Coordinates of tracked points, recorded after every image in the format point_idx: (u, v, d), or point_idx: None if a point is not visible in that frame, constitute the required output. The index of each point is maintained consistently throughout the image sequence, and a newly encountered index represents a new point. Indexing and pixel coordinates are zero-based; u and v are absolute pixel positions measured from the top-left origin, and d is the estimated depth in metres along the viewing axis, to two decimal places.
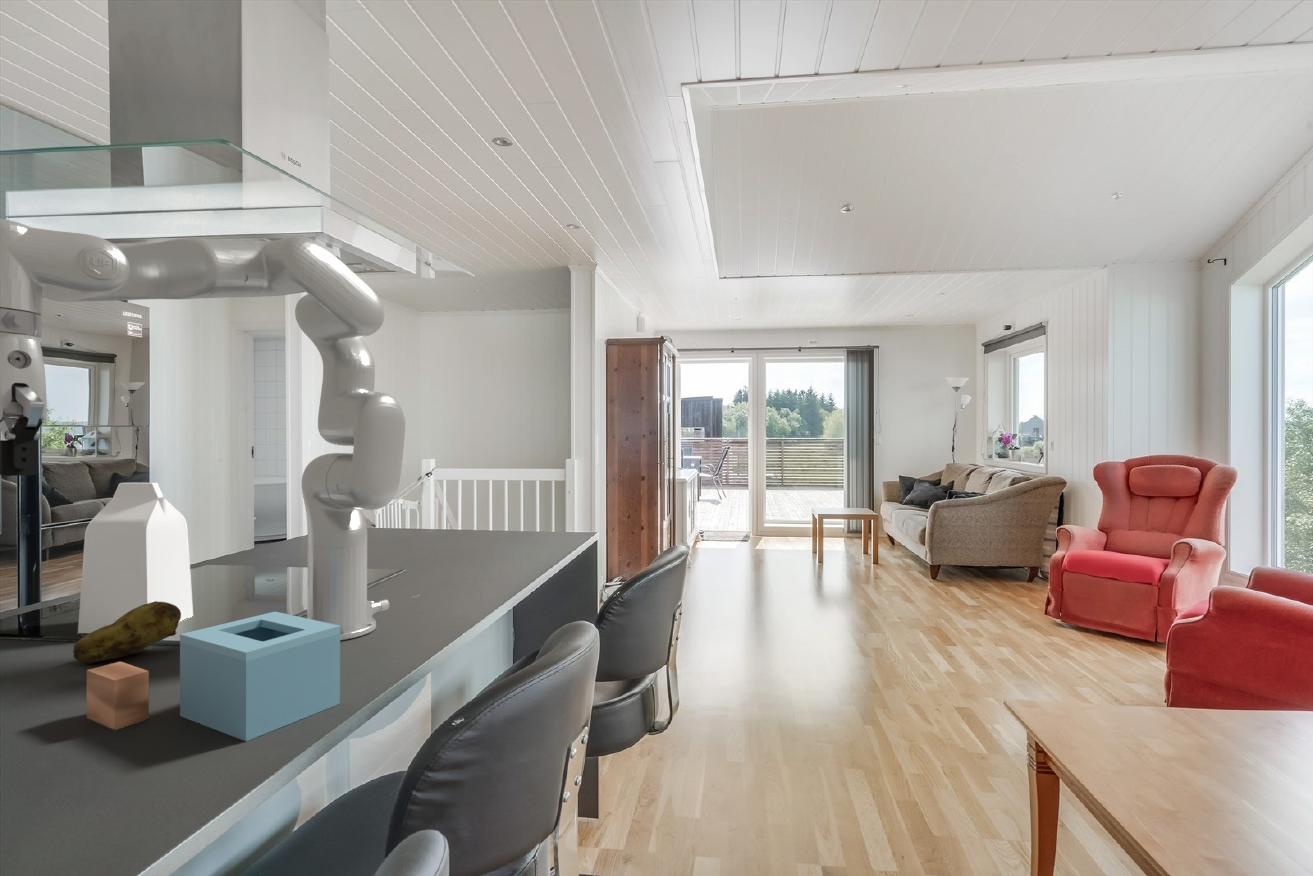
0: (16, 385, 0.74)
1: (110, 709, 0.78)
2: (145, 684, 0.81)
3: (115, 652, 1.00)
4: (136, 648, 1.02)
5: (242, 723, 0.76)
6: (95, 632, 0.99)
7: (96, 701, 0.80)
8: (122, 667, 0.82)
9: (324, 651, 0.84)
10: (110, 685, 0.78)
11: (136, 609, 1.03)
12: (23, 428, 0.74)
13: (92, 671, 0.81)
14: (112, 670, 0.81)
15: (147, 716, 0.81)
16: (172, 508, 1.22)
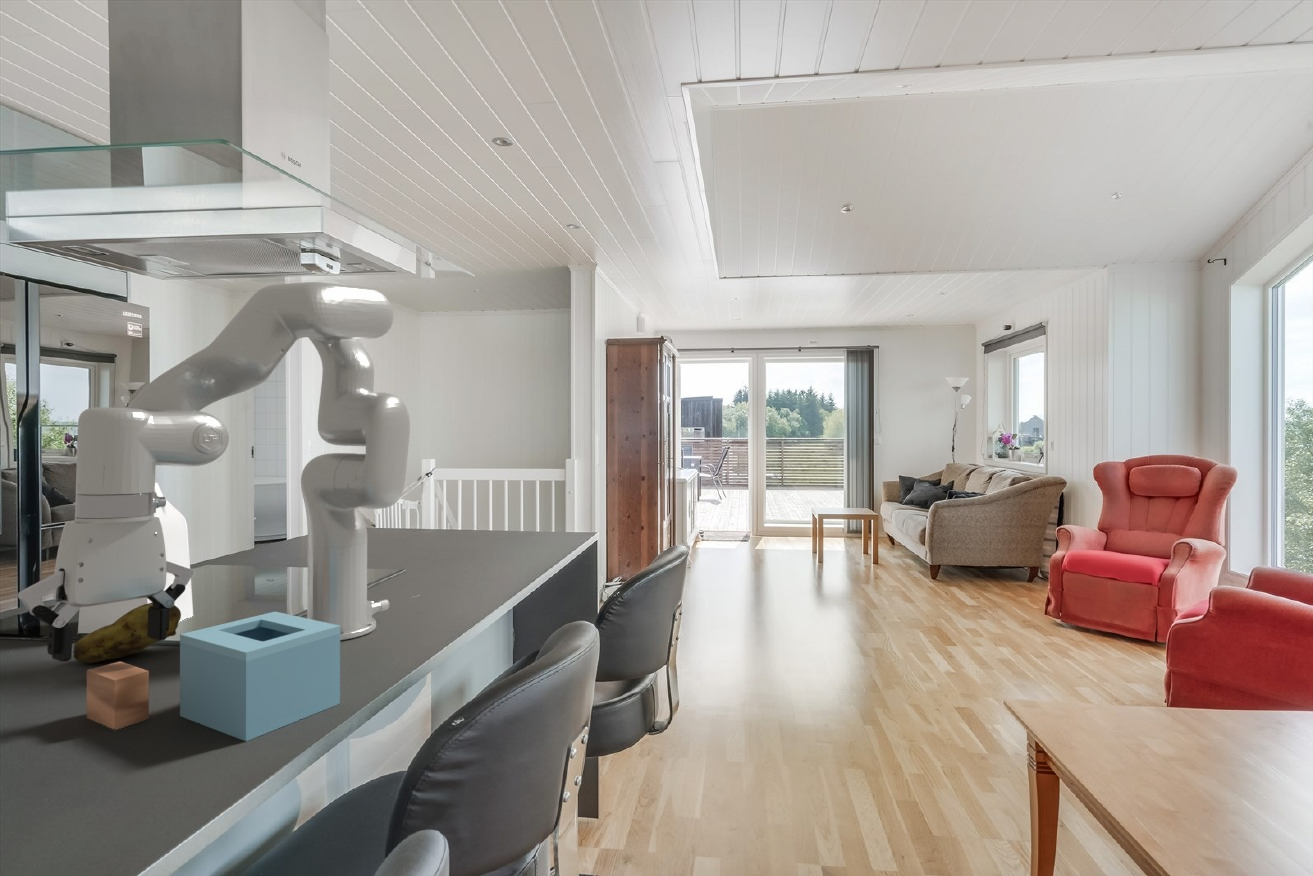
0: None
1: (110, 709, 0.78)
2: (145, 684, 0.81)
3: (115, 652, 1.00)
4: (136, 648, 1.02)
5: (242, 723, 0.76)
6: (95, 632, 0.99)
7: (96, 701, 0.80)
8: (122, 667, 0.82)
9: (324, 651, 0.84)
10: (110, 685, 0.78)
11: (136, 609, 1.03)
12: (178, 595, 0.86)
13: (92, 671, 0.81)
14: (112, 670, 0.81)
15: (147, 716, 0.81)
16: (172, 508, 1.22)
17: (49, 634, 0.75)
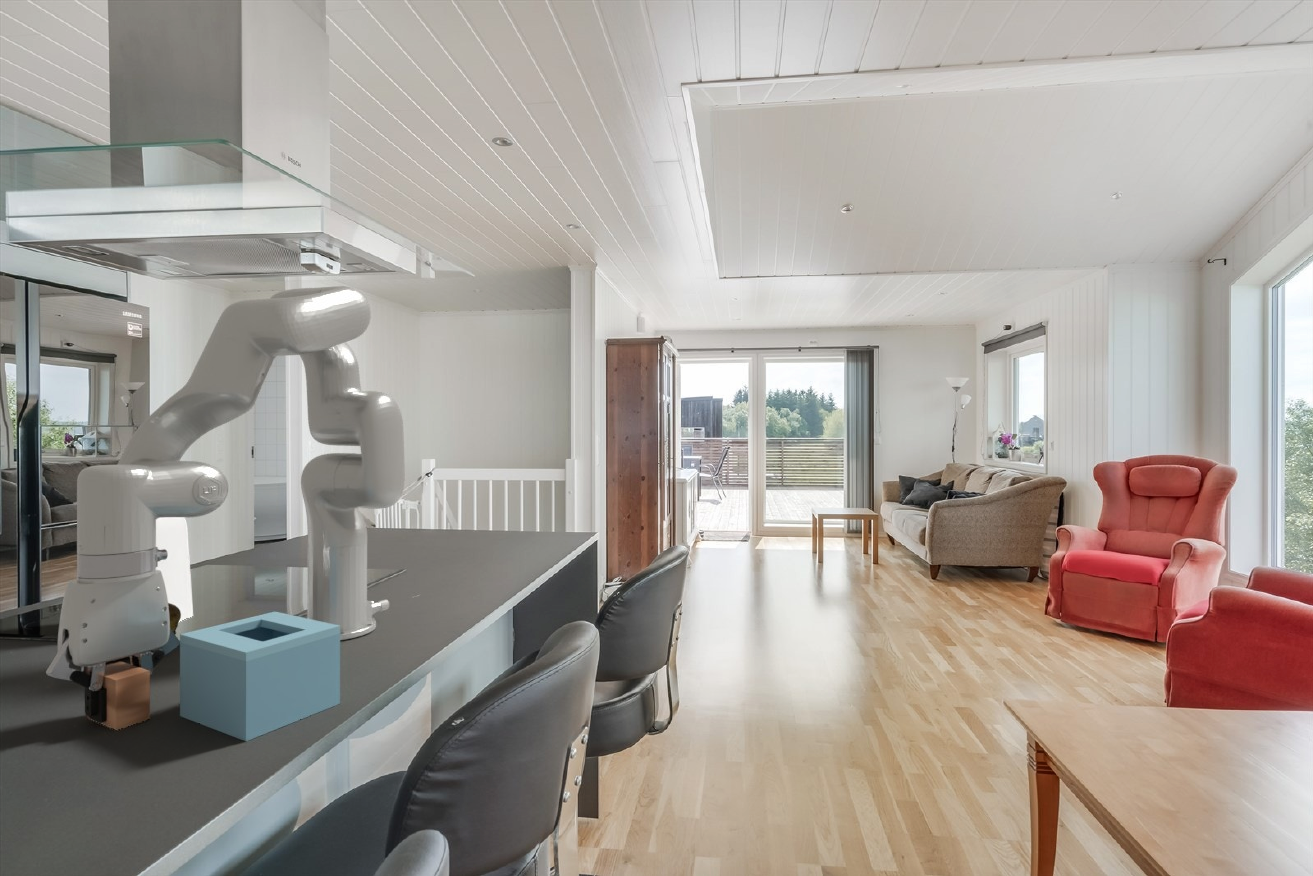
0: None
1: (111, 709, 0.78)
2: (146, 684, 0.80)
3: None
4: None
5: (242, 723, 0.76)
6: None
7: None
8: (123, 667, 0.82)
9: (324, 651, 0.84)
10: (111, 685, 0.78)
11: None
12: (157, 661, 0.84)
13: None
14: (113, 670, 0.81)
15: (148, 716, 0.81)
16: None
17: (86, 696, 0.79)
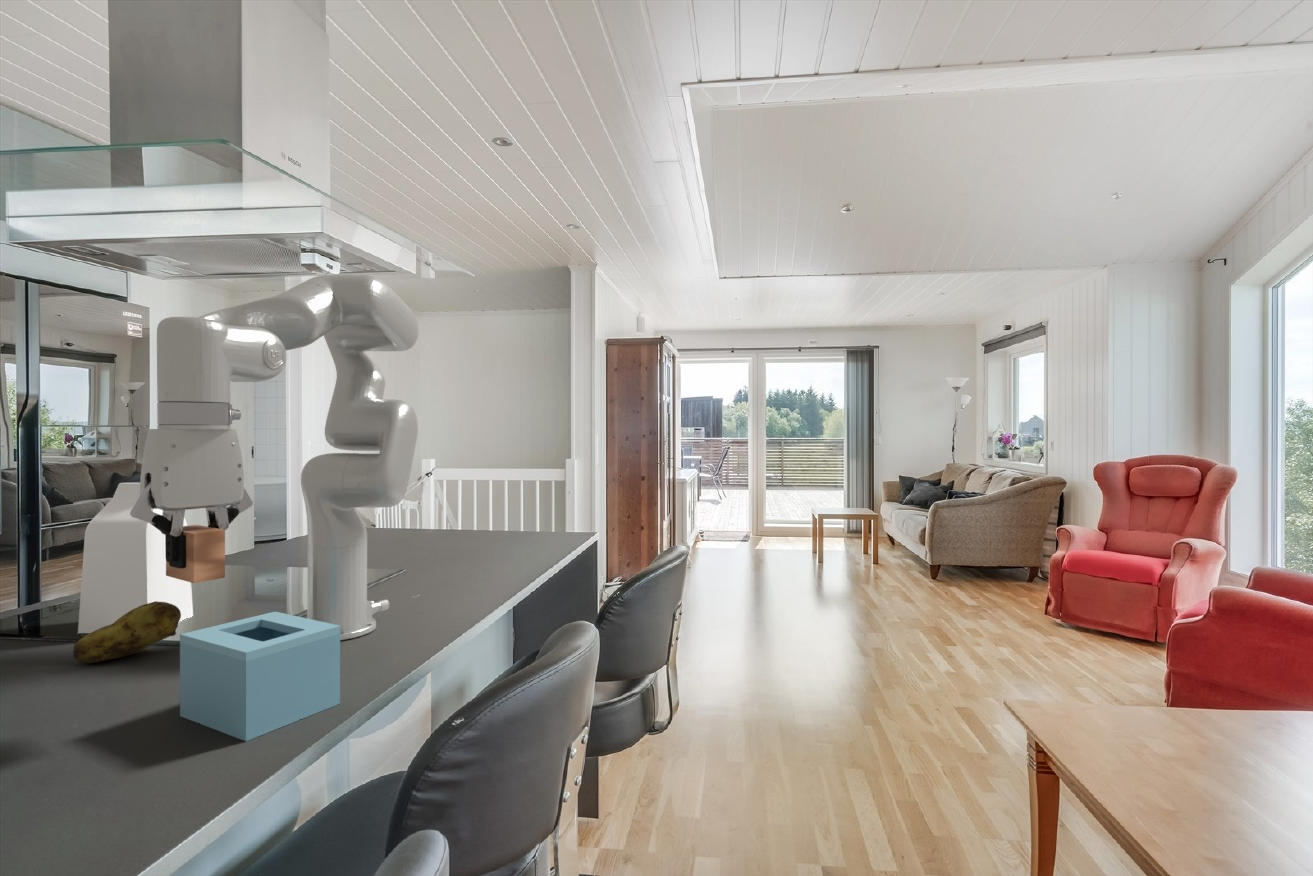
0: None
1: (189, 562, 0.80)
2: (222, 542, 0.82)
3: (115, 652, 1.00)
4: (136, 648, 1.02)
5: (242, 723, 0.76)
6: (95, 632, 0.99)
7: None
8: (199, 527, 0.83)
9: (324, 651, 0.84)
10: (189, 539, 0.80)
11: (136, 609, 1.03)
12: (232, 518, 0.86)
13: None
14: (190, 529, 0.82)
15: (223, 574, 0.82)
16: None
17: (167, 542, 0.80)
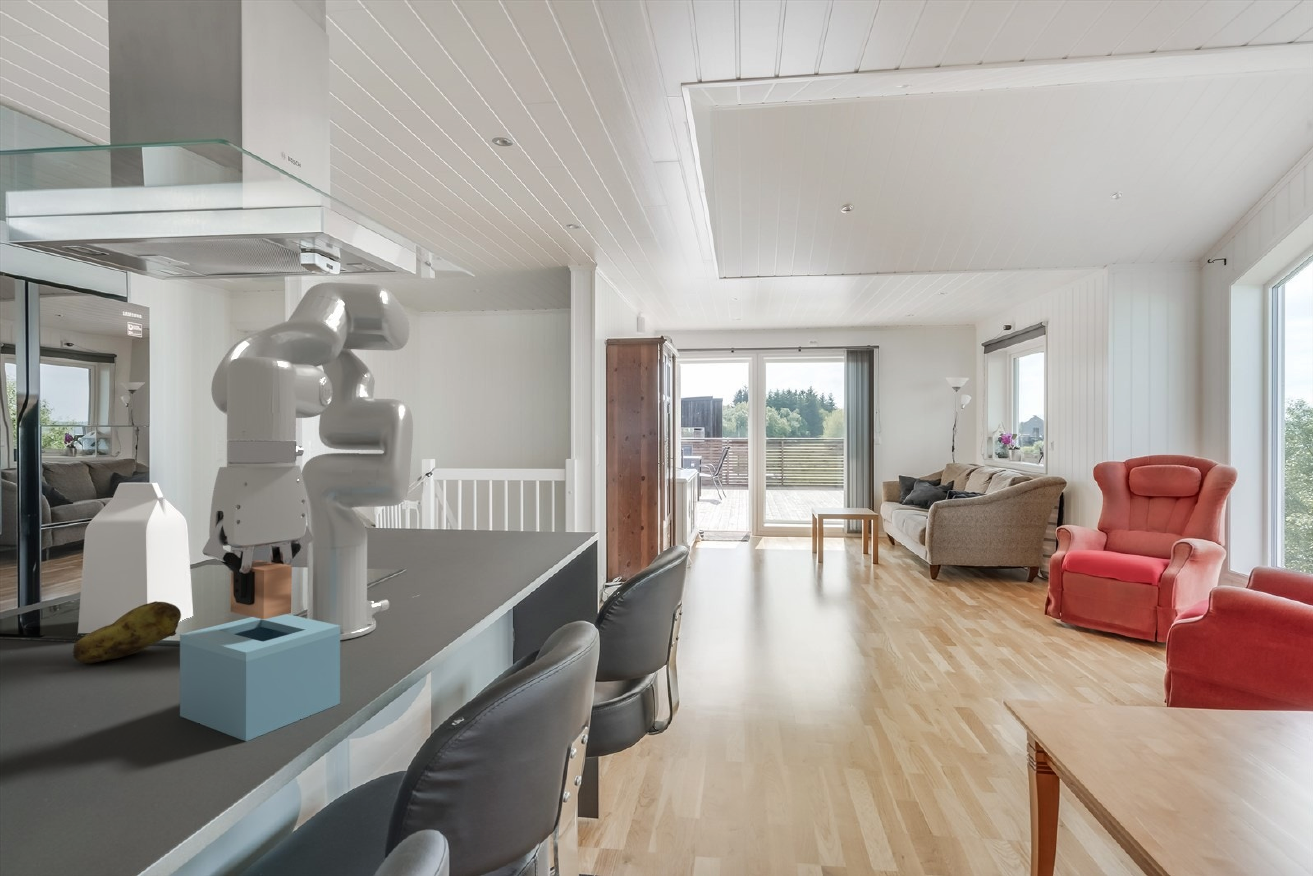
0: None
1: (258, 599, 0.81)
2: (289, 578, 0.83)
3: (115, 652, 1.00)
4: (136, 648, 1.02)
5: (242, 723, 0.76)
6: (95, 632, 0.99)
7: None
8: (264, 563, 0.84)
9: (324, 651, 0.84)
10: (259, 576, 0.81)
11: (136, 609, 1.03)
12: (294, 553, 0.87)
13: None
14: (256, 565, 0.83)
15: (290, 609, 0.83)
16: (172, 508, 1.22)
17: (235, 579, 0.81)
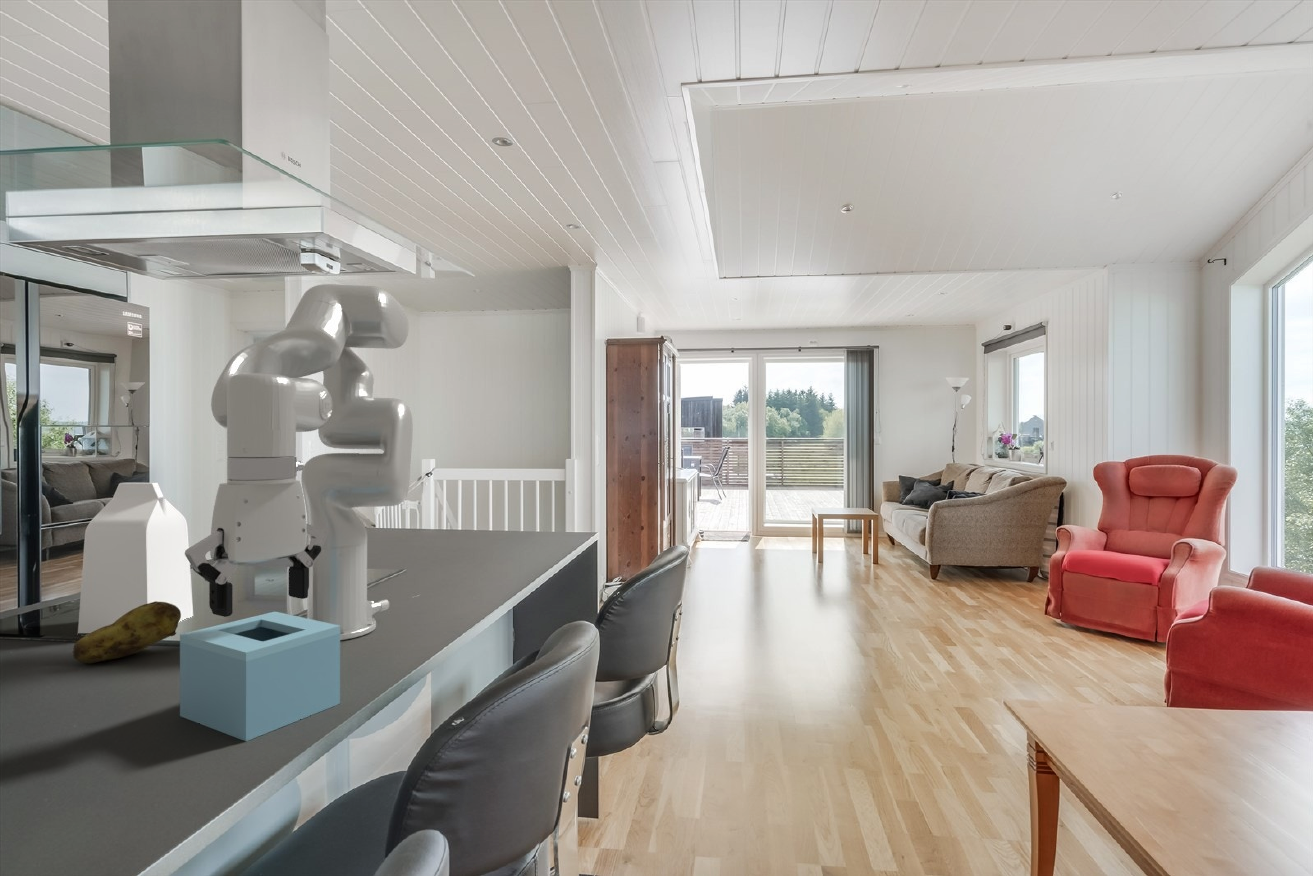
0: None
1: None
2: None
3: (115, 652, 1.00)
4: (136, 648, 1.02)
5: (242, 723, 0.76)
6: (95, 632, 0.99)
7: None
8: None
9: (324, 651, 0.84)
10: None
11: (136, 609, 1.03)
12: (315, 555, 0.90)
13: None
14: None
15: None
16: (172, 508, 1.22)
17: (211, 590, 0.79)
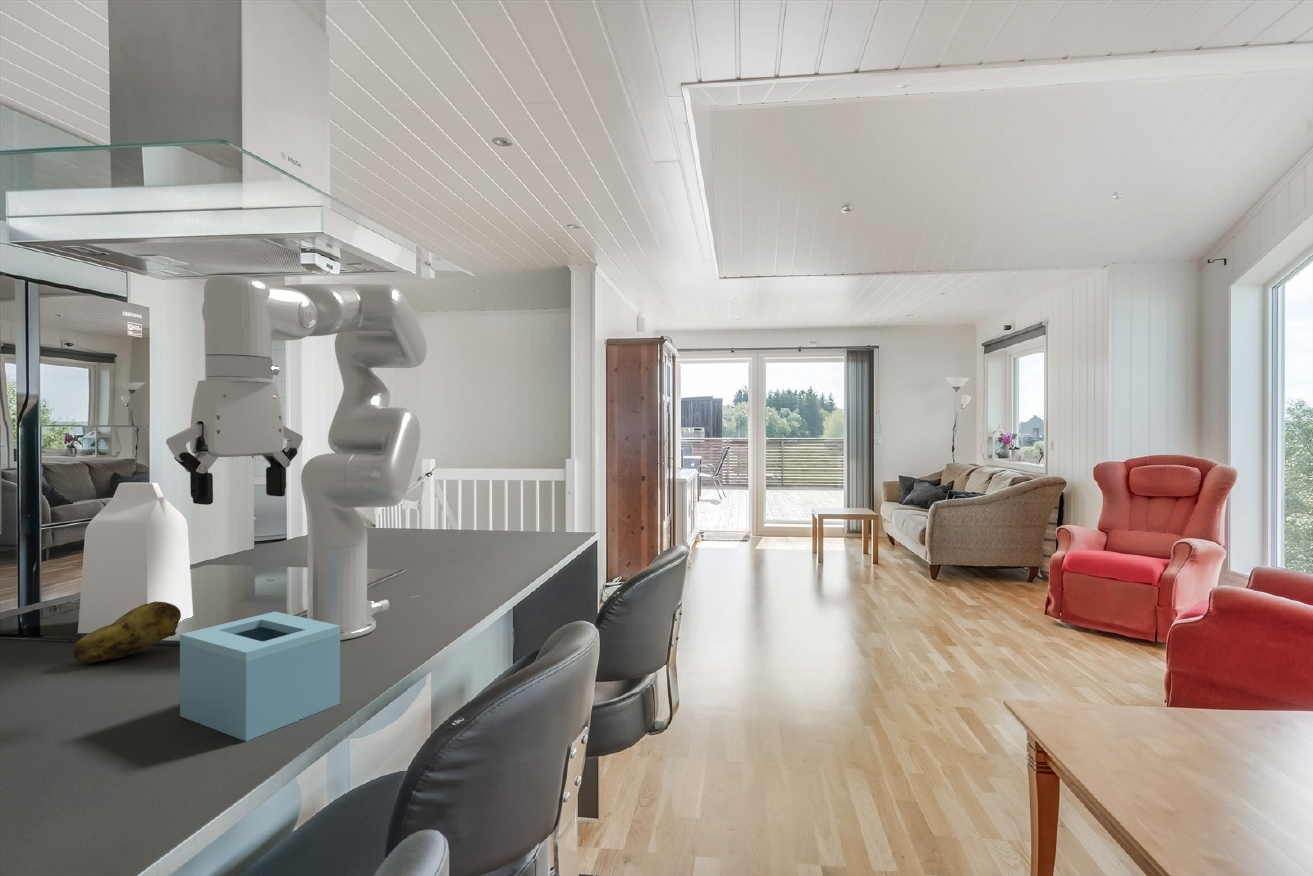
0: None
1: None
2: None
3: (115, 652, 1.00)
4: (136, 648, 1.02)
5: (242, 723, 0.76)
6: (95, 632, 0.99)
7: None
8: None
9: (324, 651, 0.84)
10: None
11: (136, 609, 1.03)
12: (291, 457, 0.94)
13: None
14: None
15: None
16: (172, 508, 1.22)
17: (192, 479, 0.83)
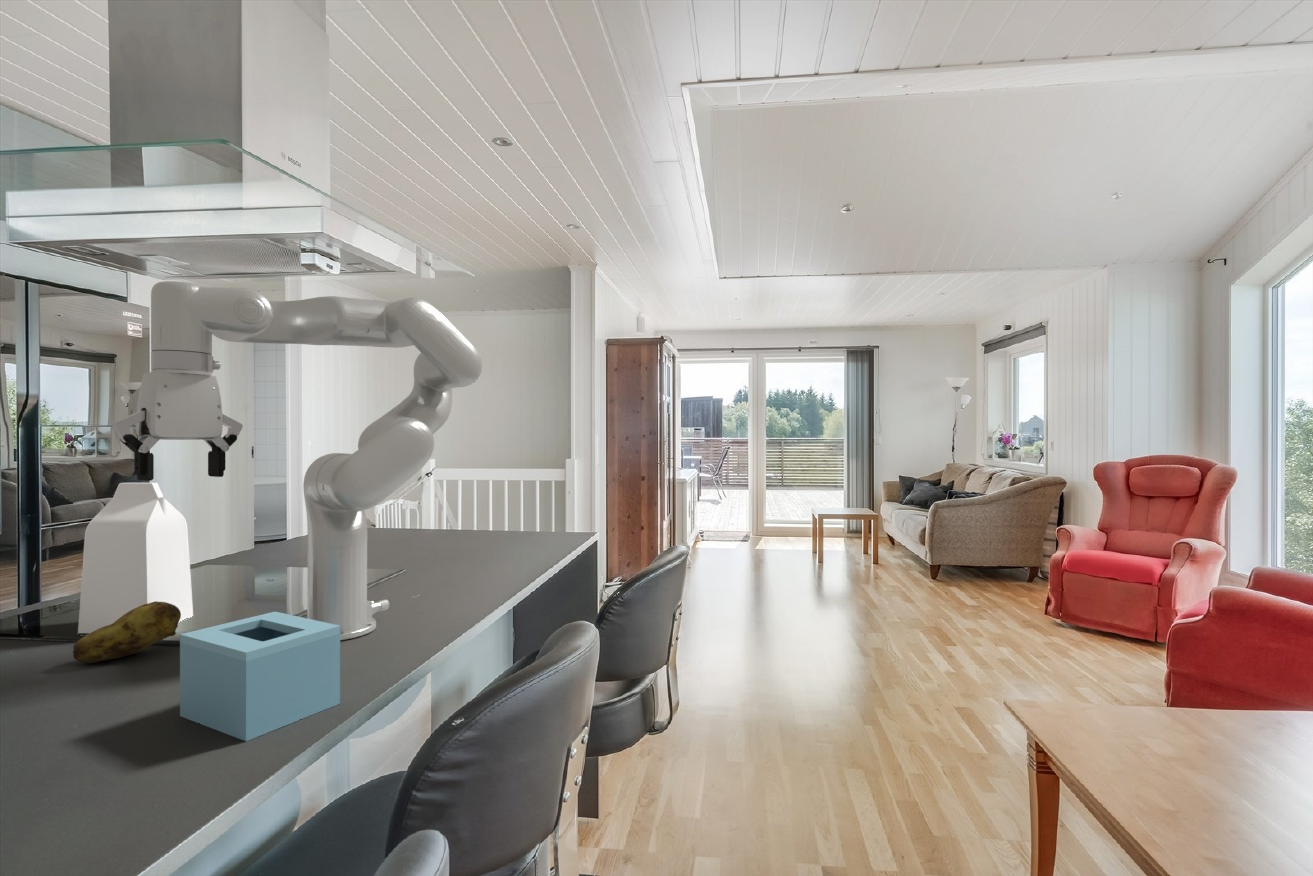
0: None
1: None
2: None
3: (115, 652, 1.00)
4: (136, 648, 1.02)
5: (242, 723, 0.76)
6: (95, 632, 0.99)
7: None
8: None
9: (324, 651, 0.84)
10: None
11: (136, 609, 1.03)
12: (231, 443, 1.06)
13: None
14: None
15: None
16: (172, 508, 1.22)
17: (135, 458, 0.95)
